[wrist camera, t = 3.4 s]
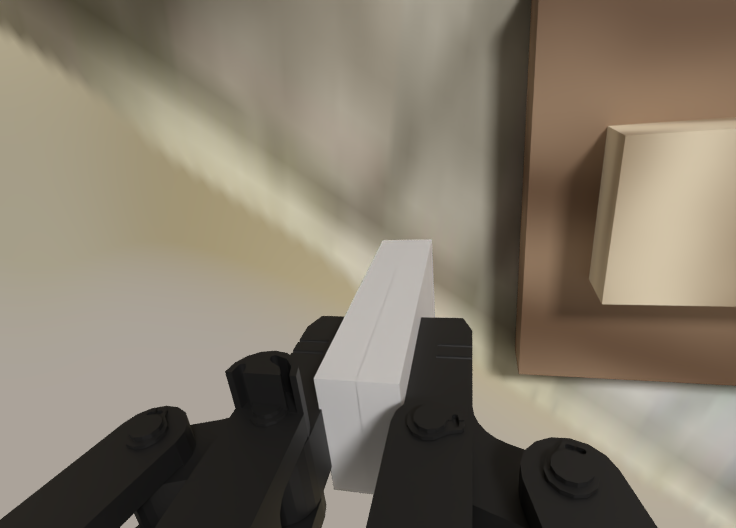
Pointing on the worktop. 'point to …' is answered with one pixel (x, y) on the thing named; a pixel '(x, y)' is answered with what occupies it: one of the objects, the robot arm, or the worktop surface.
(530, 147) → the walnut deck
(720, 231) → the birch tile
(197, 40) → the worktop surface
